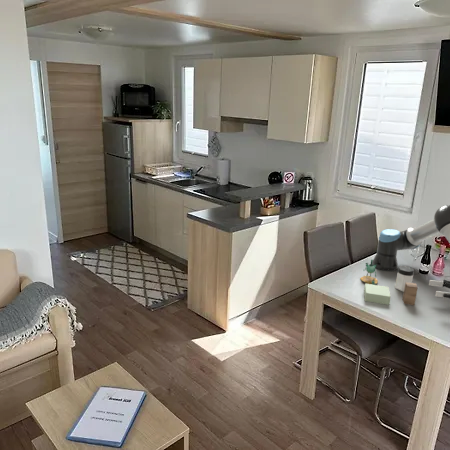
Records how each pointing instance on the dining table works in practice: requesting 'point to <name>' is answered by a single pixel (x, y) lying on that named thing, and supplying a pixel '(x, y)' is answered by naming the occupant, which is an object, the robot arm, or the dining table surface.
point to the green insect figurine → (370, 270)
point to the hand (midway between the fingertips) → (432, 287)
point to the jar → (404, 277)
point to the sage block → (377, 294)
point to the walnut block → (410, 293)
